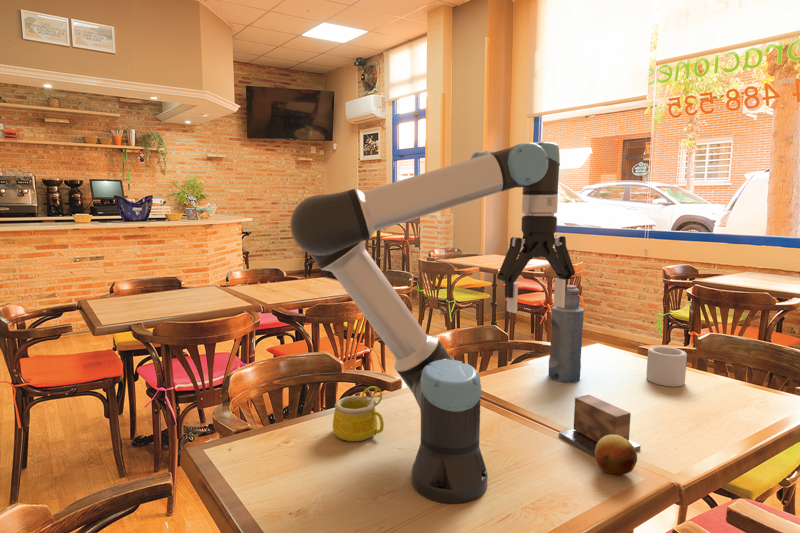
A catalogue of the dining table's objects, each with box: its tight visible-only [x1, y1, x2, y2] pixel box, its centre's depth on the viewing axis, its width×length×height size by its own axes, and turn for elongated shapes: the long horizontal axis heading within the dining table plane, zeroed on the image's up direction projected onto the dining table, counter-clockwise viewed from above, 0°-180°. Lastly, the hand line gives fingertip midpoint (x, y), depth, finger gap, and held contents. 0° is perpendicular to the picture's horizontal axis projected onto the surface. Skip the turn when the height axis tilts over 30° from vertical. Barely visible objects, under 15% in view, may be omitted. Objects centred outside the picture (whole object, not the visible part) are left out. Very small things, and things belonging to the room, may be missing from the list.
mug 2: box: [645, 345, 688, 388], centre depth 157 cm, size 14×11×10 cm
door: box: [573, 394, 632, 442], centre depth 115 cm, size 12×4×8 cm, turn 26°
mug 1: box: [332, 385, 385, 442], centre depth 119 cm, size 13×11×12 cm
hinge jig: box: [558, 428, 641, 458], centre depth 116 cm, size 12×13×4 cm
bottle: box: [548, 284, 585, 383], centre depth 158 cm, size 10×10×30 cm
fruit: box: [594, 435, 638, 477], centre depth 102 cm, size 8×8×8 cm
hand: (535, 309), depth 112 cm, fingers open, 13 cm apart
